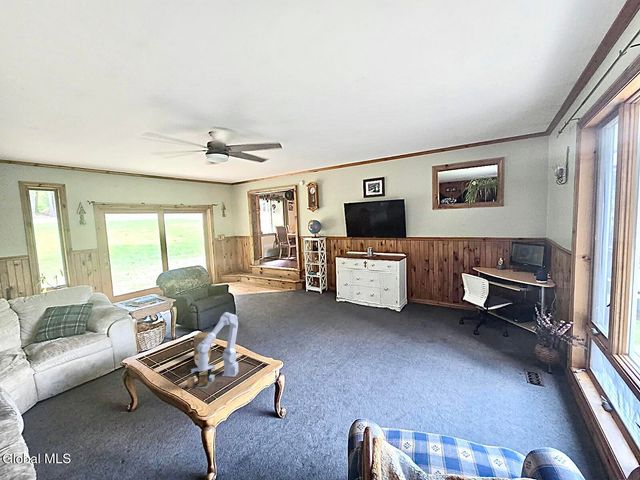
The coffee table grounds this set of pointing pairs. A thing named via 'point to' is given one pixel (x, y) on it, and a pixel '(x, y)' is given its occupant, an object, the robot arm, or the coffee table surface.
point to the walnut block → (203, 380)
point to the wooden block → (200, 341)
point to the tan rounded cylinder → (190, 382)
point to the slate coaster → (203, 386)
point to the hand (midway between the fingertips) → (203, 381)
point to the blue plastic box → (211, 378)
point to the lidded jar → (198, 359)
